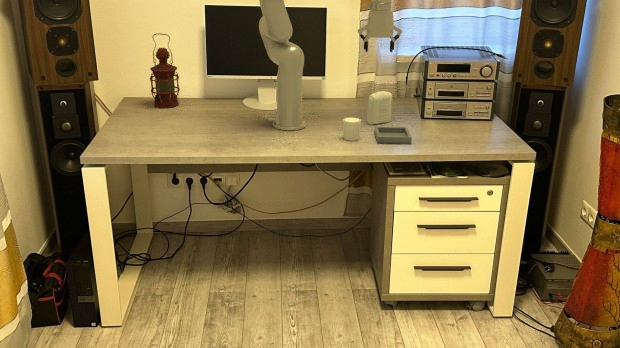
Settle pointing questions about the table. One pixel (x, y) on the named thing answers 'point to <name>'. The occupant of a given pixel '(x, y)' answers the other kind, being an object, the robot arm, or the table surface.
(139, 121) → the table surface
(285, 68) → the robot arm
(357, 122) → the white cylinder
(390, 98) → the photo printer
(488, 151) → the table surface
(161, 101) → the lantern
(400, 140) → the parts tray
